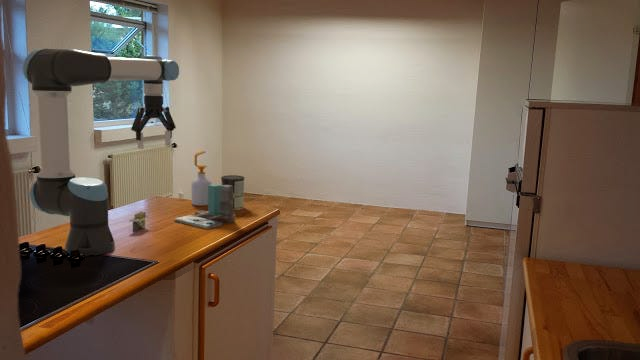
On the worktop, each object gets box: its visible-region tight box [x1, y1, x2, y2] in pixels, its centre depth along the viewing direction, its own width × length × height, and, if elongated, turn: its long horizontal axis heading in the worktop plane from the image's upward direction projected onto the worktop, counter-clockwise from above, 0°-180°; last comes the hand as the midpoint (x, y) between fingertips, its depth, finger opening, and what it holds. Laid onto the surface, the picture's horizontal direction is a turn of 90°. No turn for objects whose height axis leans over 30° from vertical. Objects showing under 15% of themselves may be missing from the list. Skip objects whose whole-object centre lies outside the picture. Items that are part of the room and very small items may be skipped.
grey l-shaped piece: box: [194, 184, 237, 225], centre depth 229 cm, size 12×19×15 cm, turn 54°
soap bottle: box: [191, 150, 213, 207], centre depth 260 cm, size 9×9×25 cm
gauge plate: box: [174, 214, 223, 230], centre depth 226 cm, size 8×19×1 cm, turn 54°
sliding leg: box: [196, 183, 222, 217], centre depth 229 cm, size 12×5×12 cm, turn 144°
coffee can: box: [220, 174, 245, 211], centre depth 255 cm, size 10×10×14 cm
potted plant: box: [128, 211, 150, 232], centre depth 215 cm, size 12×18×7 cm, turn 172°
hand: (154, 147), depth 232 cm, fingers open, 13 cm apart
